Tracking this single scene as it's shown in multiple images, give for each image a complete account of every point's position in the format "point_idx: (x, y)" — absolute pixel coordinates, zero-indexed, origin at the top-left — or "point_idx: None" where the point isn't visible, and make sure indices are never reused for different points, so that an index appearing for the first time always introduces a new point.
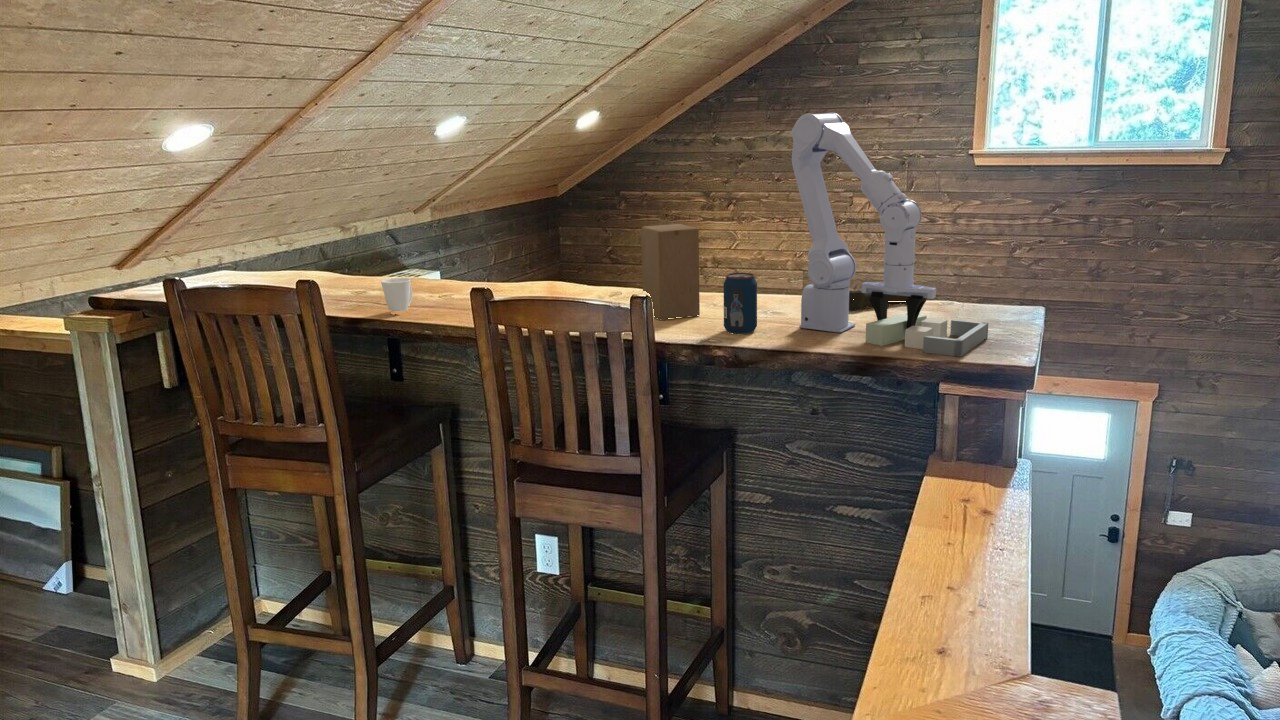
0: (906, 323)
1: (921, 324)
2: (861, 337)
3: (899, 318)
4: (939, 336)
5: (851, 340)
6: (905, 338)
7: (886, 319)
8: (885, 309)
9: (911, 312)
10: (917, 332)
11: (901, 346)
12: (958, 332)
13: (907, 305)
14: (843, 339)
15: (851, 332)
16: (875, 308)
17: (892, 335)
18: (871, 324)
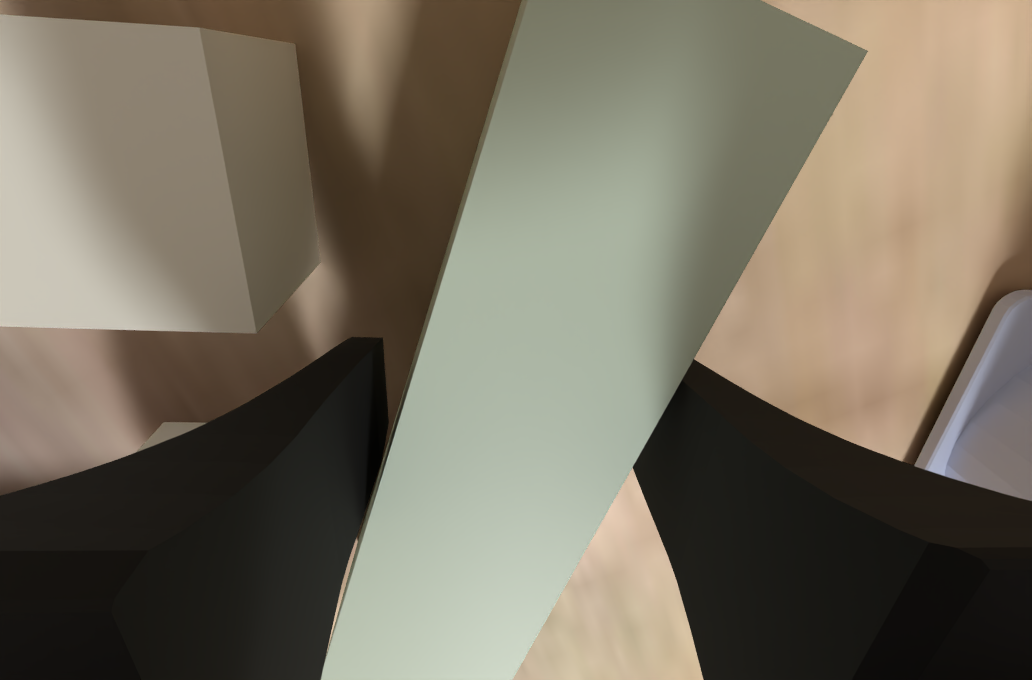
0: (395, 428)
1: None
2: (797, 238)
3: (504, 505)
4: (152, 443)
5: (885, 68)
6: (252, 39)
7: (628, 412)
8: (699, 568)
9: (208, 446)
10: (4, 16)
11: (329, 40)
12: None
13: (197, 506)
14: (971, 75)
15: (896, 366)
16: (852, 455)
17: (472, 168)
18: (775, 7)
